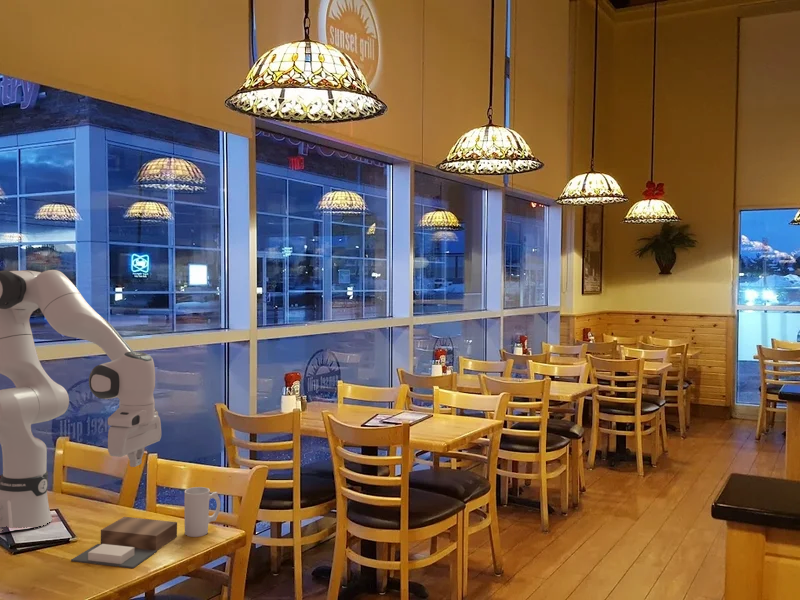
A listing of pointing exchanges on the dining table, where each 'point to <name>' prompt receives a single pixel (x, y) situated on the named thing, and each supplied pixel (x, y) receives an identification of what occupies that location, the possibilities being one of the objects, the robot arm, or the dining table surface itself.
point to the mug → (199, 510)
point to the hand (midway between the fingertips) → (135, 465)
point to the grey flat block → (111, 553)
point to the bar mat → (130, 563)
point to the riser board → (139, 533)
